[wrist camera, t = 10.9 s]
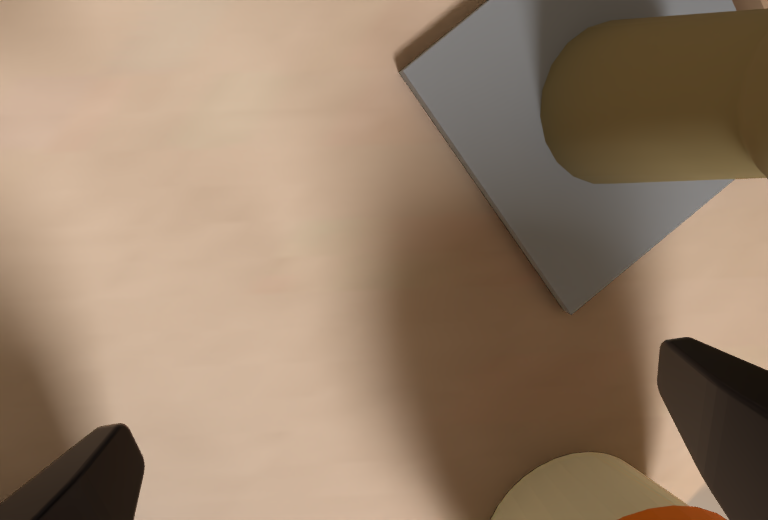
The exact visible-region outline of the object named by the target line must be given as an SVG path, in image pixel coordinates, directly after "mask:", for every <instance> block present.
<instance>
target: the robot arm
mask: <svg viewBox="0 0 768 520" xmlns="http://www.w3.org/2000/svg"><path fill="white" fill-rule="evenodd" d="M657 385H658V389H659V392H660V395H661V397H662V399H663V401H664V403H665V405H666V407H667V409H668V411H669V413H670V415H671V417H672V419H673V421H674V423H675V425H676V427H677V429H678V431H679V433H680V435H681V437H682V439H683V441H684V443H685V445H686V447H687V448H688V450H689V452H690V454H691V456H692V458H693V460H694V462H695V464H696V466H697V468H698V470H699V472H700V474H701V475H702V477H703V479H704V481H705V482H706V484H707V486H708V487H709V489H710V490H711V492H712V494H713V495H714V497H715V498H716V500H717V501H718V503H719V504H720V506H721V508H722V509H723V511H724V512H725V514H726V515H727V517H728V518H729V520H768V370H765V369H763V368H761V367H758V366H756V365H754V364H751V363H749V362H747V361H744V360H742V359H739V358H737V357H735V356H732V355H730V354H728V353H725V352H723V351H721V350H718V349H716V348H714V347H711V346H709V345H707V344H704V343H702V342H700V341H697V340H695V339H693V338H690V337H683V338H676V339H670V340H665V341H664V342H663V343H662V344H661V346H660V352H659V363H658V375H657ZM144 467H145V466H144V459H143V456H142V454H141V452H140V450H139V448H138V446H137V444H136V442H135V440H134V437H133V435H132V433H131V431H130V429H129V428H128V427H127V426H126V425H125V424H122V423H118V424H111V425H105V426H100V427H98V428H96V429H95V430H94V431H92V432H91V433H90V434H89V435H87V436H86V437H85V438H83V439H82V440H81V441H80V442H78V443H77V444H76V445H74V446H73V447H72V448H71V449H69V450H68V451H67V452H66V453H64V454H63V455H62V456H60V457H59V458H58V459H57V460H55V461H54V462H53V463H51V464H50V465H49V466H48V467H46V468H45V469H44V470H43V471H41V472H40V473H39V474H37V475H36V476H35V477H34V478H32V479H31V480H30V481H28V482H27V483H26V484H25V485H23V486H22V487H21V488H20V489H18V490H17V491H16V492H14V493H13V494H12V495H11V496H9V497H8V498H7V499H5V500H4V501H3V502H2V503H0V520H134V516H135V511H136V507H137V502H138V498H139V493H140V489H141V484H142V480H143V475H144Z"/></svg>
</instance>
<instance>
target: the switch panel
mask: <svg viewBox="0 0 768 520" xmlns="http://www.w3.org/2000/svg"><path fill="white" fill-rule="evenodd" d="M732 1H733V4H734V6H735V8H736V11H741V10H754V9H767V8H768V0H732Z"/></svg>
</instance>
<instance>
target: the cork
mask: <svg viewBox="0 0 768 520" xmlns="http://www.w3.org/2000/svg"><path fill="white" fill-rule="evenodd" d="M540 119H541V123H542V128H543V133H544V138H545V142H546V144H547V146H548V147H549V149H550V151H551V153H552V154H553V156H554V158H555V160H556V162H557V163H558V164H560V165H561V166H562V167H563V168H564V169H565V170H566V171H568V172H569V173H570V174H571V175H572V176H573V177H576V178H579V179H581V180H584V181H587V182H590V183H592V184H618V183H644V182H670V181H696V180H722V179H748V178H768V8H767V9H754V10H741V11H727V12H714V13H701V14H688V15H674V16H661V17H648V18H635V19H622V20H610V21H607V22H604V23H601V24H598V25H595V26H591V27H588V28H587V29H585V30H584V31H583V32H581V33H580V34H579V35H577V36H576V37H575V38H573V39H572V40H571V41H569V42H568V43H567V44H566V46H565V47H564V48H563V50H562V51H561V53H560V54H559V55H558V57H557V58H556V59H555V61H554V62H553V64H552V65H551V68H550V71H549V73H548V76H547V79H546V81H545V84H544V87H543V90H542V100H541V112H540Z"/></svg>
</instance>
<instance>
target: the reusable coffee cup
mask: <svg viewBox="0 0 768 520" xmlns="http://www.w3.org/2000/svg"><path fill="white" fill-rule="evenodd" d="M491 520H726V519H725V518H723V517H722V516H720V515H719V514H717V513H714V512H711V511H708V510H705V509H702V508H698V507H690V506H688V505H687V504H686V503H684V502H683V501H681V500H680V499H678V498H677V497H676V496H674V495H673V494H671V493H670V492H668V491H667V490H665V489H664V488H663V487H661V486H660V485H658V484H657V483H655V482H654V481H652V480H651V479H650V478H648V477H647V476H645V475H644V474H642V473H641V472H640V471H638V470H637V469H635V468H634V467H632V466H631V465H629V464H628V463H626V462H625V461H623V460H621V459H620V458H618V457H615V456H612V455H609V454H606V453H597V452H582V453H572V454H569V455H566V456H562V457H559V458H555V459H553V460H551V461H549V462H547V463H545V464H543V465H541V466H539V467H537V468H536V469H534V470H533V471H532V472H530V473H529V474H527V475H526V476H524V477H523V478H522V479H521V480H520V481H519V482H518V483H517V484H516V485H515V486H514V487H513V488H512V489H511V490H509V492H508V493H507V494H506V496H505V497H504V498H503V500H502V501H501V502H500V504H499V505H498V507H497V509H496V511H495V512H494V514H493V516H492V518H491Z"/></svg>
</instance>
